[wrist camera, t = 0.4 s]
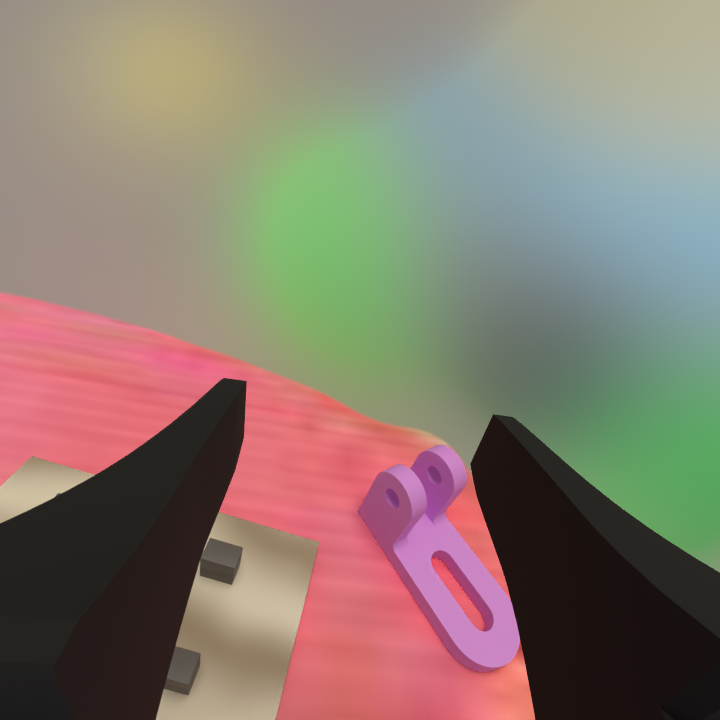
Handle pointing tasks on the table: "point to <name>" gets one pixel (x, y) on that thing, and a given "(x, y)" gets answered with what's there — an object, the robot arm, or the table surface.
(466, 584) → the bracket
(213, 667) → the beige board with pegs
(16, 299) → the table surface
